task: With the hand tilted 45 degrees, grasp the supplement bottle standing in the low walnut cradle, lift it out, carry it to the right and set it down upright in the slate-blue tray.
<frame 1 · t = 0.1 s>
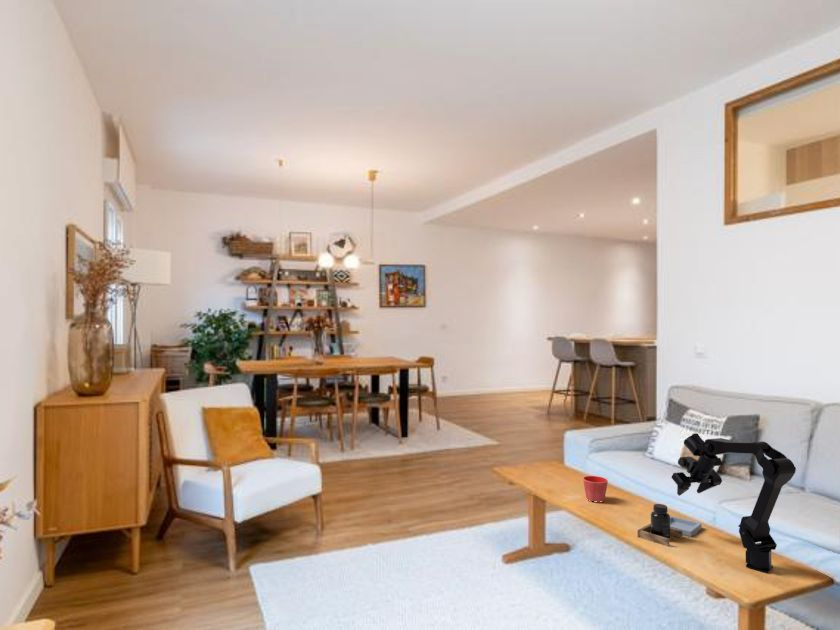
hand: (688, 493, 208), 15 cm above the table, tool tilted 35°, fingers open, 9 cm apart
flower pot: (595, 500, 246), on the table
tray: (680, 528, 211), on the table
cradle: (660, 537, 203), on the table
supplement bottle: (660, 537, 203), on the table
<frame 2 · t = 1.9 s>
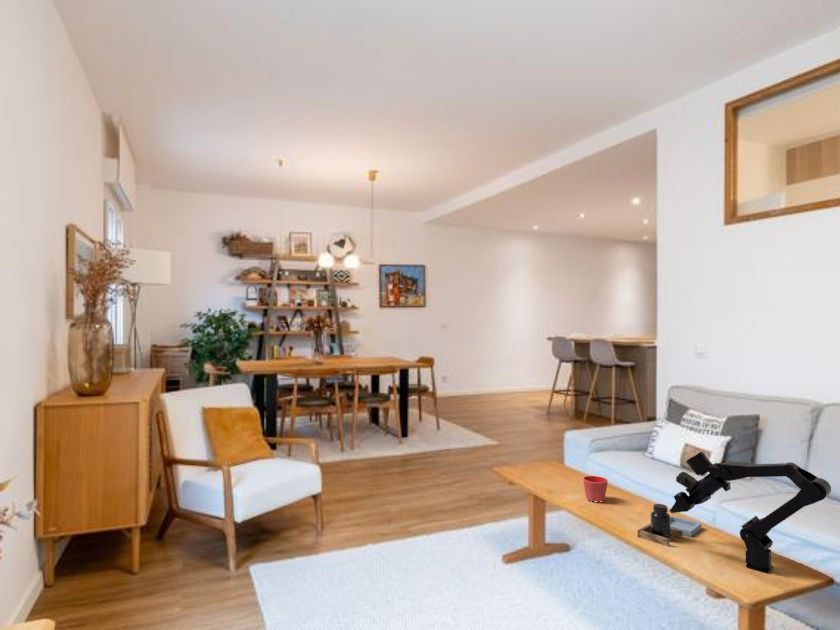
hand: (676, 508, 198), 12 cm above the table, tool tilted 45°, fingers open, 9 cm apart
nothing on the table moved.
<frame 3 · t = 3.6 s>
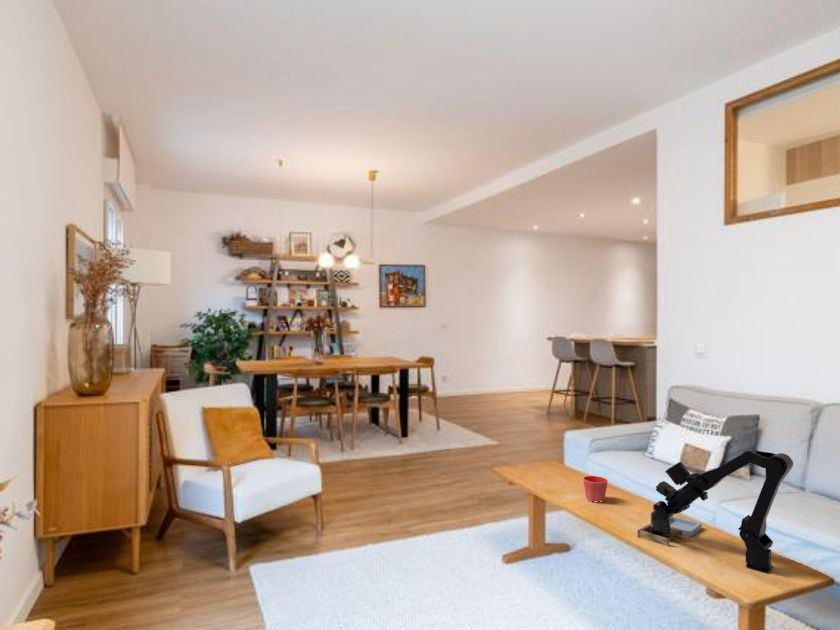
hand: (656, 517, 204), 7 cm above the table, tool tilted 45°, fingers closed on supplement bottle, 7 cm apart
supplement bottle: (660, 537, 203), on the table, touching gripper
everything else where it was.
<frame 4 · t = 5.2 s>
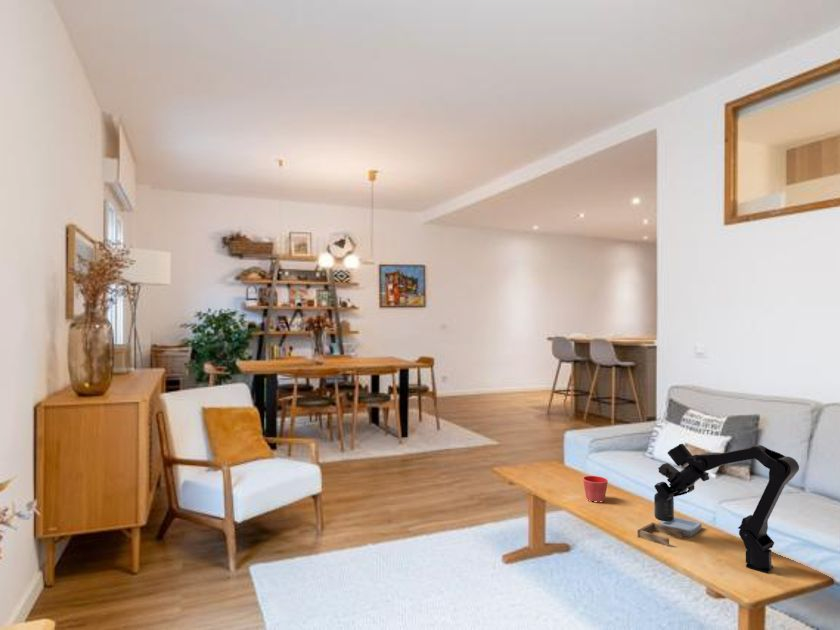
hand: (660, 499, 207), 13 cm above the table, tool tilted 45°, fingers closed on supplement bottle, 7 cm apart
supplement bottle: (664, 519, 205), point 6 cm above the table, touching gripper
everything else where it was.
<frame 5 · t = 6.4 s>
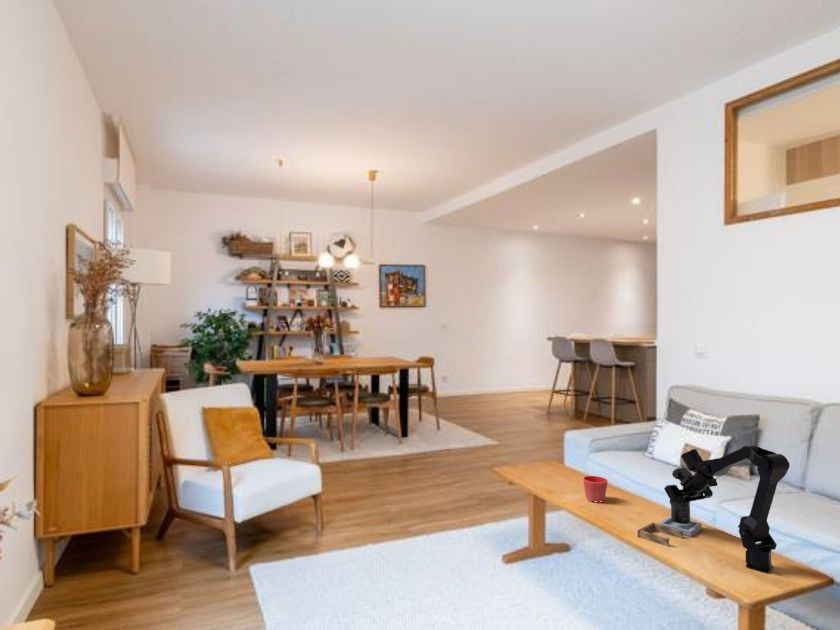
hand: (677, 502, 213), 10 cm above the table, tool tilted 45°, fingers closed on supplement bottle, 7 cm apart
supplement bottle: (680, 521, 211), point 3 cm above the table, touching gripper
everything else where it was.
when the fingers open (9 cm above the table, at t = 7.1 s): supplement bottle drops 1 cm, resting on tray.
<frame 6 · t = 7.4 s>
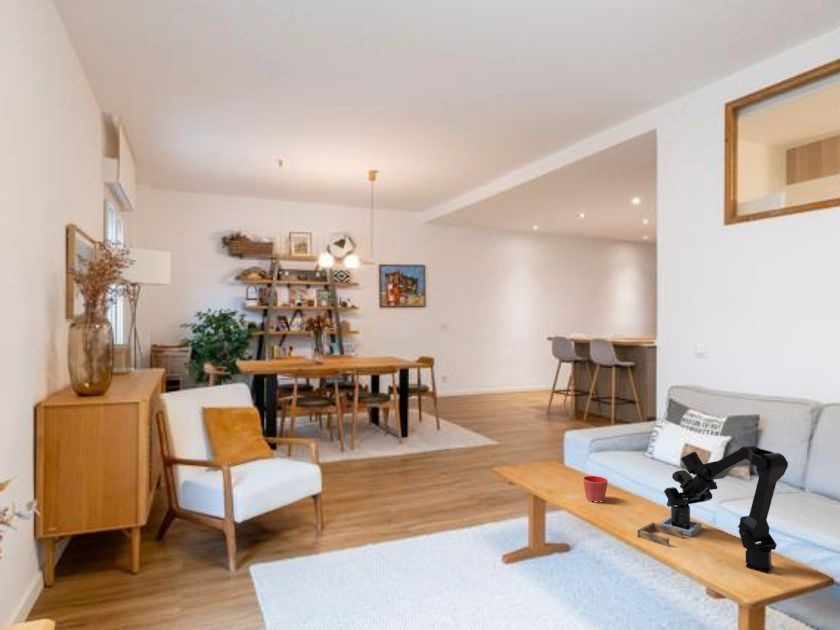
hand: (677, 504, 213), 9 cm above the table, tool tilted 45°, fingers open, 9 cm apart
supplement bottle: (680, 527, 211), resting on tray
everything else where it was.
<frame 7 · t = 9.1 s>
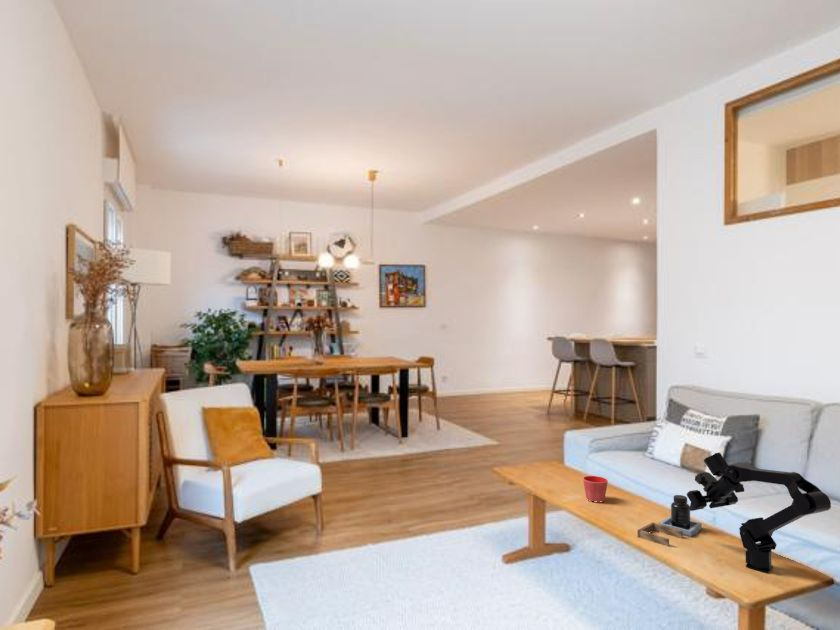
hand: (700, 508, 201), 11 cm above the table, tool tilted 45°, fingers open, 9 cm apart
nothing on the table moved.
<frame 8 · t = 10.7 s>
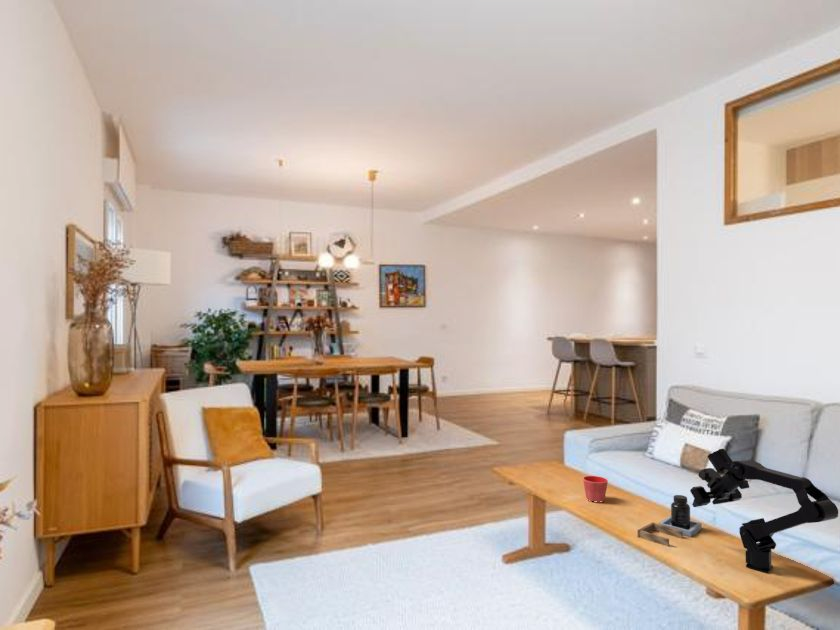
hand: (703, 504, 199), 14 cm above the table, tool tilted 45°, fingers open, 9 cm apart
nothing on the table moved.
at the end: supplement bottle 0.3 cm from the tray (horizontally); supplement bottle tilted 0°; the gripper is holding nothing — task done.
